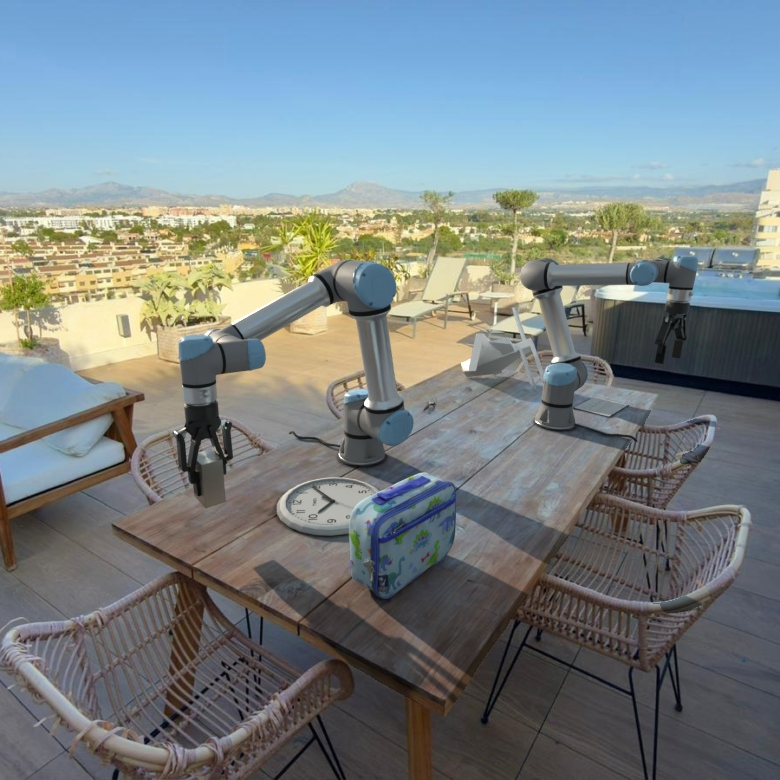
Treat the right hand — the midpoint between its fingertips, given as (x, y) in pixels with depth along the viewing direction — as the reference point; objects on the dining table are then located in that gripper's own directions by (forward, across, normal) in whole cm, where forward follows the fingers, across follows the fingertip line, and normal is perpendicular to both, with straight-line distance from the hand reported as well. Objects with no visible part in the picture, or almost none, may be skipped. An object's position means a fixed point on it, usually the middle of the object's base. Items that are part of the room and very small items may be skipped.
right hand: (667, 360), depth 189 cm
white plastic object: (+28, +5, +78) cm, 83 cm away
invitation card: (+28, +13, +29) cm, 42 cm away
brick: (+21, -155, +40) cm, 161 cm away
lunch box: (+28, -129, -4) cm, 132 cm away
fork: (+28, -47, +74) cm, 92 cm away
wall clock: (+28, -125, +30) cm, 132 cm away
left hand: (+18, -155, +40) cm, 161 cm away
